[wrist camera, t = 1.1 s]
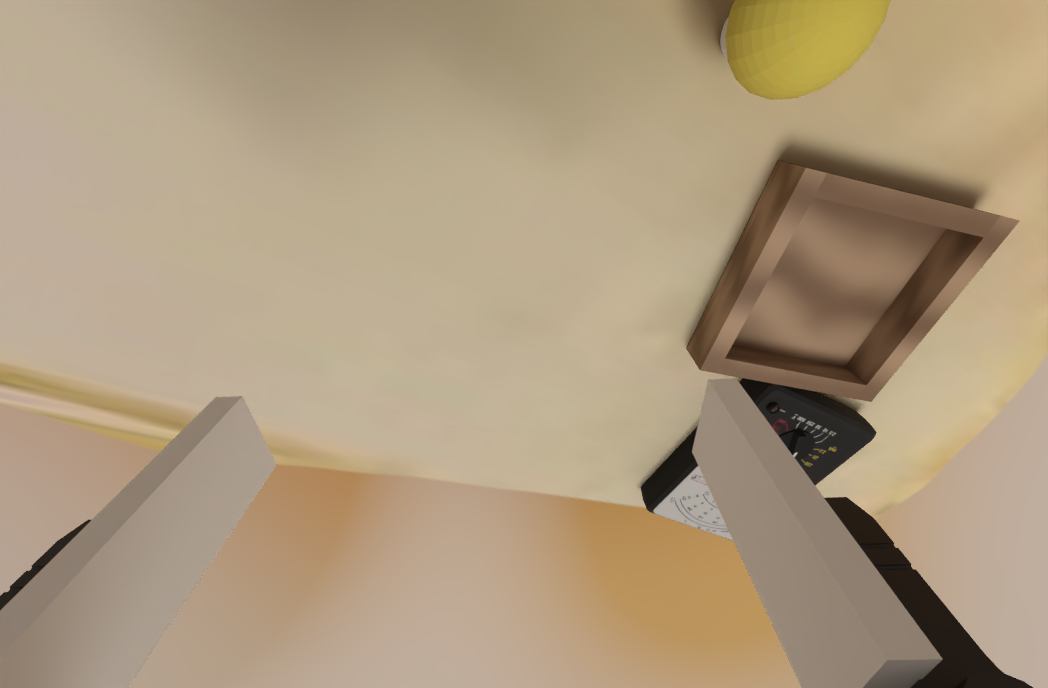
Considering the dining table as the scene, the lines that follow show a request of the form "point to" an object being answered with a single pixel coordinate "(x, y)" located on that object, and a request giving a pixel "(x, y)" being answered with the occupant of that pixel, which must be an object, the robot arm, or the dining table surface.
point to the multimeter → (801, 423)
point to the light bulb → (797, 42)
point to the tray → (839, 282)
